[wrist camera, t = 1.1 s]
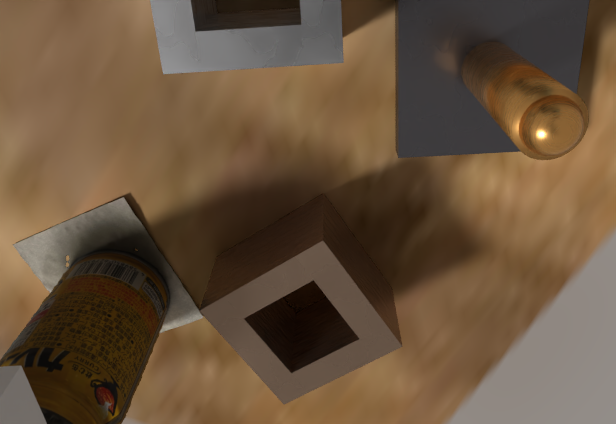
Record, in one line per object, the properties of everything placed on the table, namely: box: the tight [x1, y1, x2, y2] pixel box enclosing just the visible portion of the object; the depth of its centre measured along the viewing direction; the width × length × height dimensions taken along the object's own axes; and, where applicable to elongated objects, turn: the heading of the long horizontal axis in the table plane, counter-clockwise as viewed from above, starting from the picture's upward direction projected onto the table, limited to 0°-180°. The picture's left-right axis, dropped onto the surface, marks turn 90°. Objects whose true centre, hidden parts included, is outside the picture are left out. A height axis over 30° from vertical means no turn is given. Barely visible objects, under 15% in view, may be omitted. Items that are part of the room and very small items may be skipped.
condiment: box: [0, 197, 203, 424], centre depth 28 cm, size 7×8×12 cm
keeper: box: [395, 0, 589, 160], centre depth 23 cm, size 8×8×10 cm
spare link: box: [200, 193, 402, 404], centre depth 30 cm, size 7×7×5 cm
